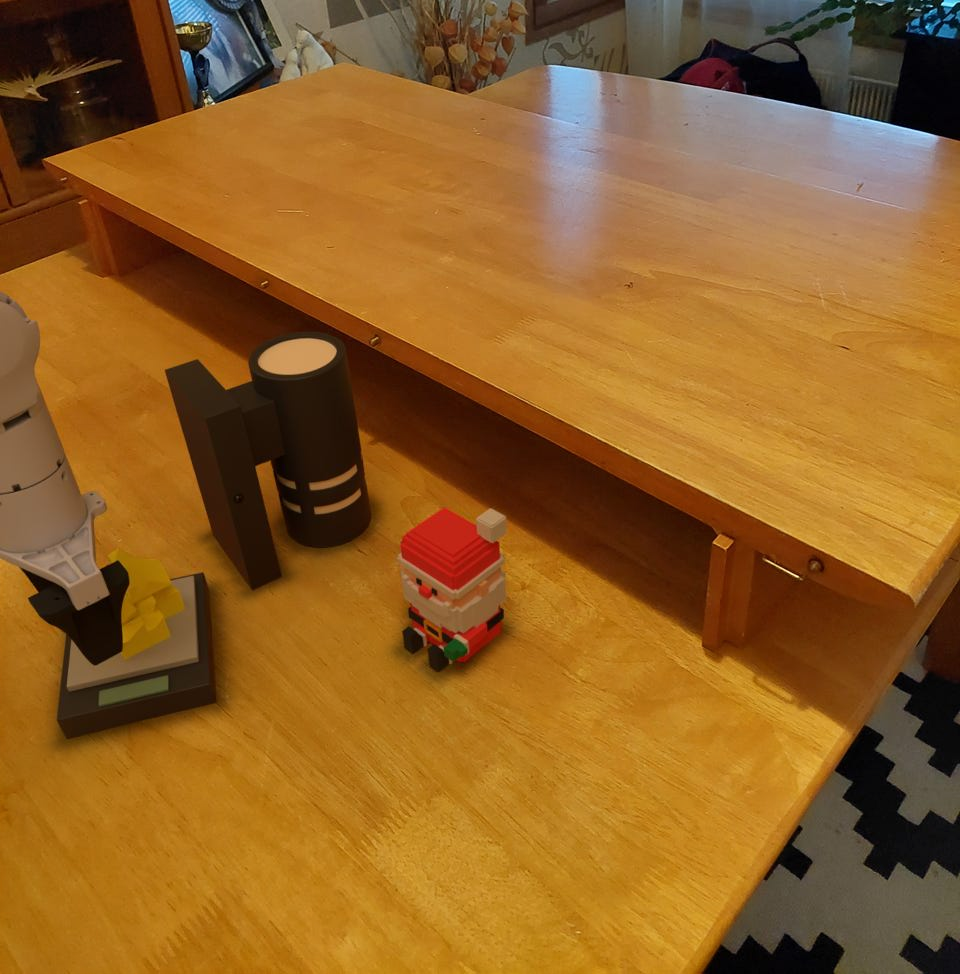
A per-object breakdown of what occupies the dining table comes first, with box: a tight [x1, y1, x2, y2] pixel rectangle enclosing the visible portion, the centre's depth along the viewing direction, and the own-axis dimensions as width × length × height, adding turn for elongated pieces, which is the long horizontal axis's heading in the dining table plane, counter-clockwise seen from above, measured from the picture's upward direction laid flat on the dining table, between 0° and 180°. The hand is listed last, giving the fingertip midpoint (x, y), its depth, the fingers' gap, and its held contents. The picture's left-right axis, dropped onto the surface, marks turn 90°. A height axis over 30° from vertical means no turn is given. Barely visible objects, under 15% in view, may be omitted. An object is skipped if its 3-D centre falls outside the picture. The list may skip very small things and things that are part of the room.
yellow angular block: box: [107, 547, 185, 660], centre depth 71 cm, size 6×8×8 cm
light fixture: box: [164, 331, 372, 591], centre depth 81 cm, size 10×14×18 cm
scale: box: [56, 571, 217, 739], centre depth 74 cm, size 13×11×3 cm
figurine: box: [397, 506, 508, 672], centre depth 71 cm, size 8×7×12 cm
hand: (84, 625), depth 64 cm, fingers open, 7 cm apart
